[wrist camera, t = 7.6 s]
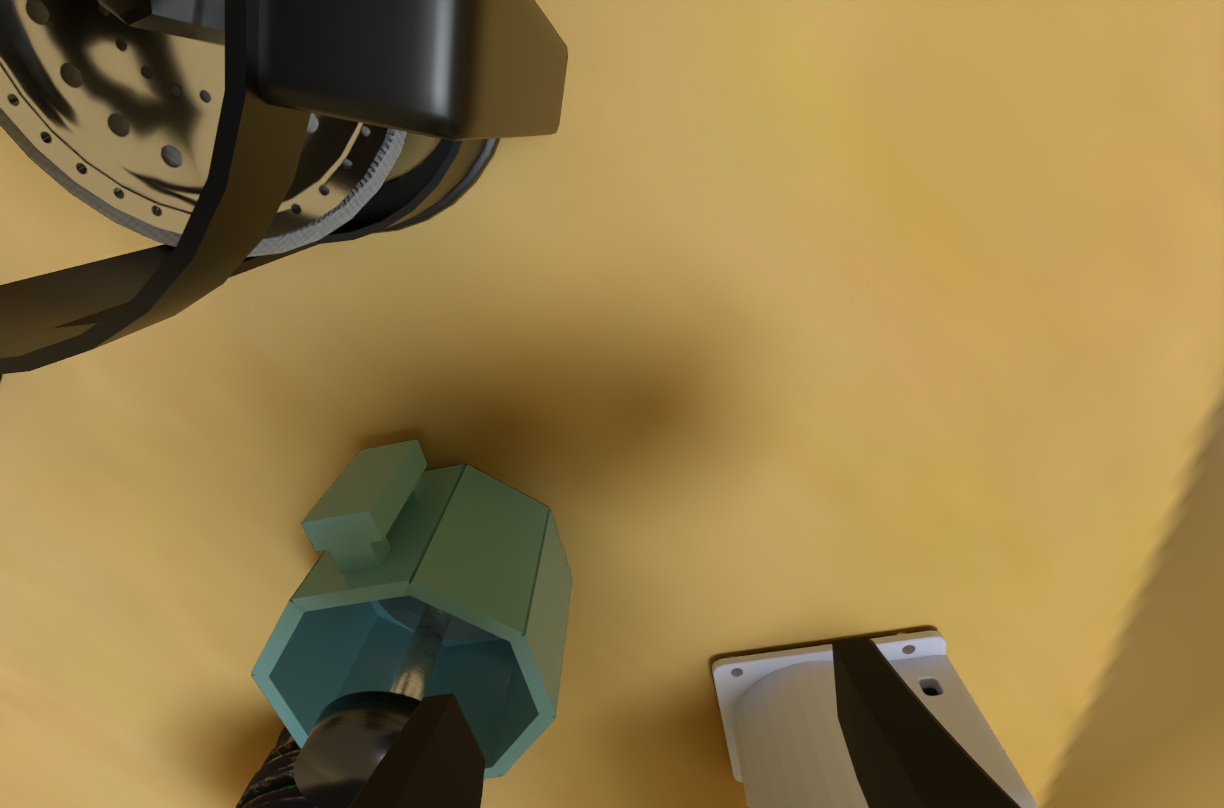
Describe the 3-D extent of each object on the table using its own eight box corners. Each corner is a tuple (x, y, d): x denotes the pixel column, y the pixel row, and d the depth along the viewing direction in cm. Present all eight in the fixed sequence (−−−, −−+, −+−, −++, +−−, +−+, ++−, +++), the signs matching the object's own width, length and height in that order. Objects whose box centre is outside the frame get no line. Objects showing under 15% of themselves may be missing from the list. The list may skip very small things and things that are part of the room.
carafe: (517, 405, 20) (477, 508, 14) (587, 624, 24) (575, 767, 19) (290, 449, 21) (173, 561, 15) (396, 652, 25) (333, 796, 20)
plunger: (509, 490, 21) (446, 684, 13) (554, 621, 23) (523, 841, 16) (343, 519, 21) (198, 718, 14) (405, 643, 24) (310, 864, 17)
